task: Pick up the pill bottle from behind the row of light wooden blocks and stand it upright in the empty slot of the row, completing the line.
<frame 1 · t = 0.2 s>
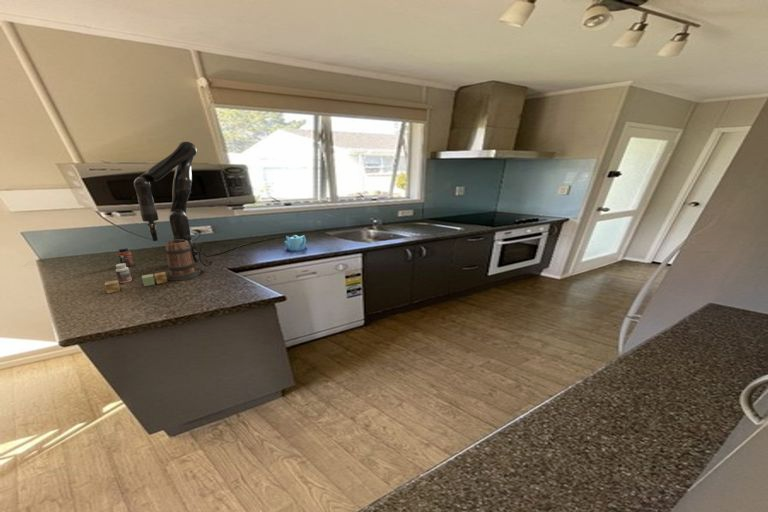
hand: (155, 239, 173), 17 cm above the countertop, tool pointing down, fingers open, 8 cm apart
birch block: (113, 290, 144), on the countertop
maple block: (162, 281, 155), on the countertop
supplement bottle: (127, 266, 177), on the countertop
tankard: (190, 273, 167), on the countertop
sage block: (149, 283, 152), on the countertop
pill bottle: (125, 281, 155), on the countertop
teapot: (296, 249, 217), on the countertop
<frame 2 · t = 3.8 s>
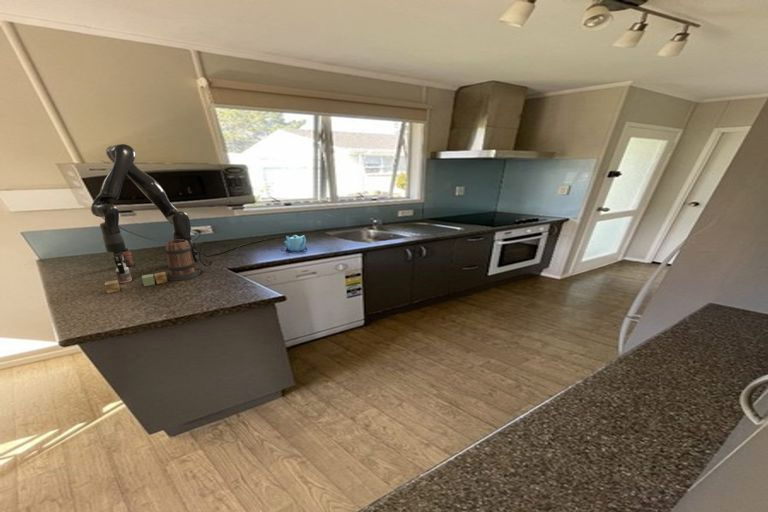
hand: (122, 271, 153), 5 cm above the countertop, tool pointing down, fingers closed on pill bottle, 5 cm apart
pill bottle: (125, 281, 155), on the countertop, touching gripper
everything else where it was.
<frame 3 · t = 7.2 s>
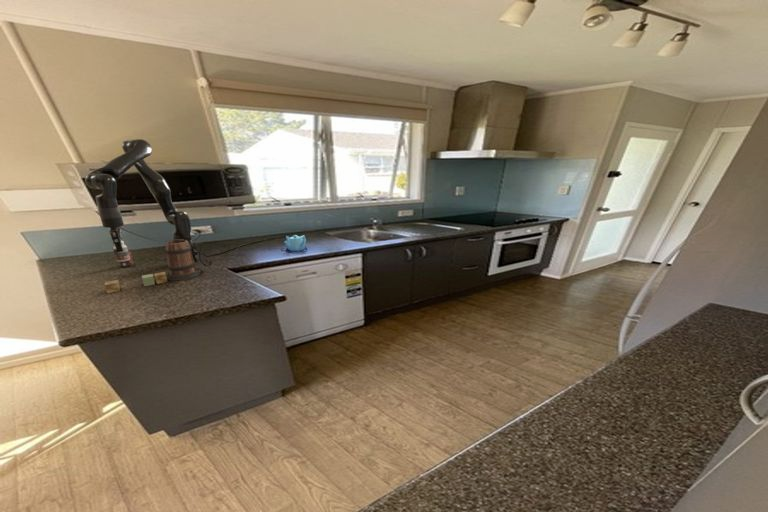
hand: (120, 249, 143), 20 cm above the countertop, tool pointing down, fingers closed on pill bottle, 5 cm apart
pill bottle: (123, 260, 144), point 14 cm above the countertop, touching gripper
everything else where it was.
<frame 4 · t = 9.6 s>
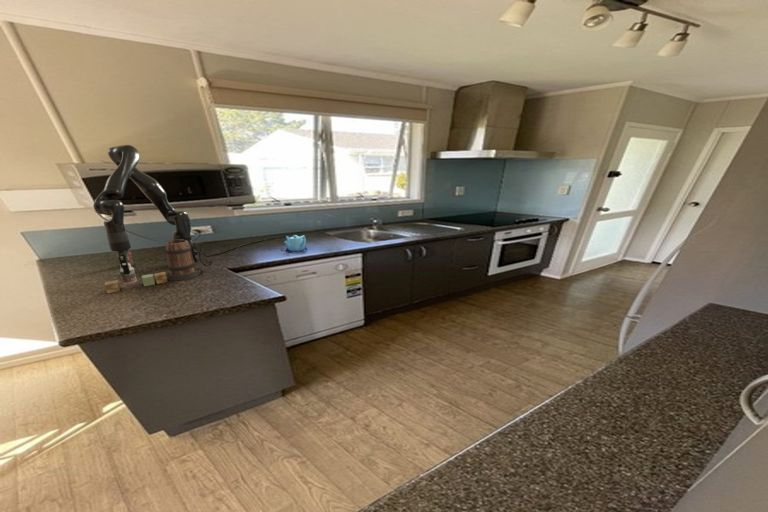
hand: (127, 272, 145), 8 cm above the countertop, tool pointing down, fingers closed on pill bottle, 5 cm apart
pill bottle: (130, 282, 147), point 3 cm above the countertop, touching gripper
everything else where it was.
when the fingers open (5 cm above the countertop, at t = 11.0 s): pill bottle stays where it is, on the countertop.
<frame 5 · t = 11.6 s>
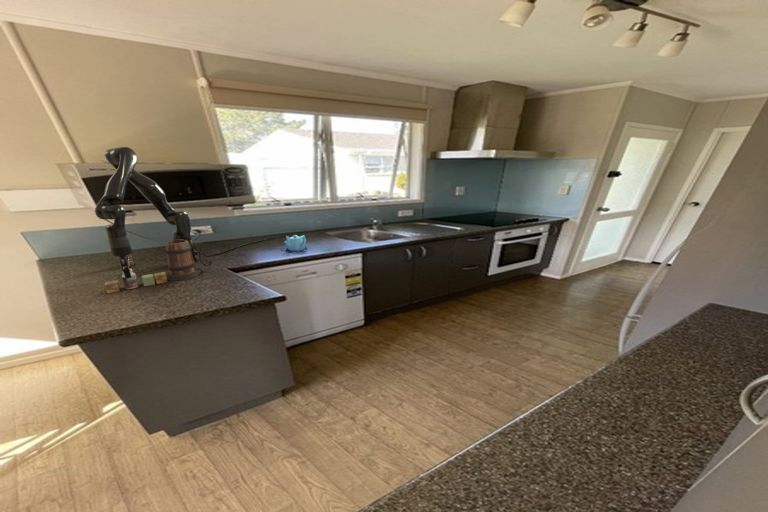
hand: (128, 275, 146), 7 cm above the countertop, tool pointing down, fingers open, 8 cm apart
pill bottle: (132, 287, 148), on the countertop
everything else where it was.
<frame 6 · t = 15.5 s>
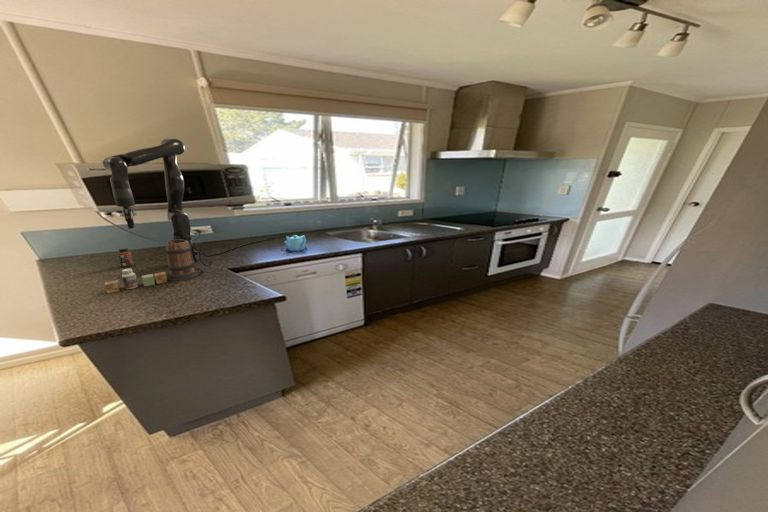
hand: (131, 226, 155), 28 cm above the countertop, tool pointing down, fingers open, 8 cm apart
nothing on the countertop moved.
at the end: pill bottle 0.1 cm from the target spot, on the countertop; pill bottle tilted 0°; sage block moved 0.0 cm from its start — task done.
